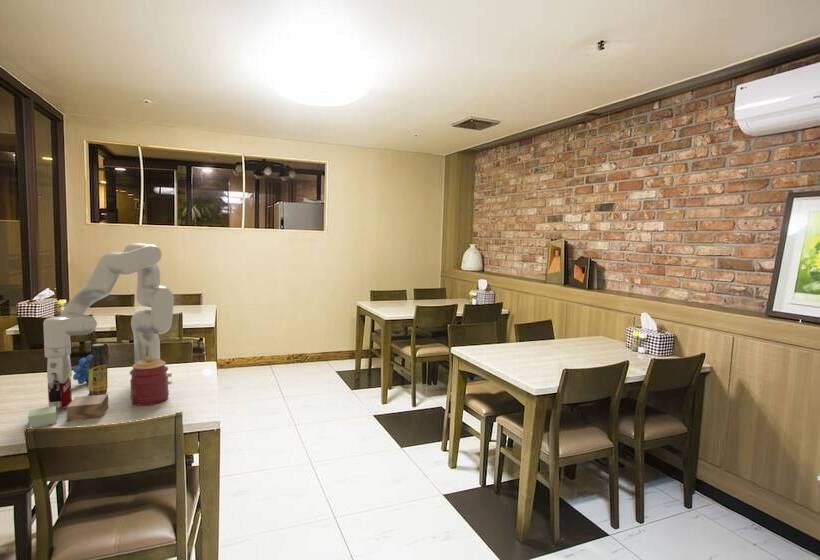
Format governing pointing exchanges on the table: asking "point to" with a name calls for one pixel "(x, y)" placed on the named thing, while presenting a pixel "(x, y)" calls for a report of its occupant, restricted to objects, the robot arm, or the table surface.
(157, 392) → the canister
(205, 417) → the table surface
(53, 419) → the green block
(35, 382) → the table surface
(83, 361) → the grapes
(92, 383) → the sauce bottle
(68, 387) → the soda can
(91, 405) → the walnut block
